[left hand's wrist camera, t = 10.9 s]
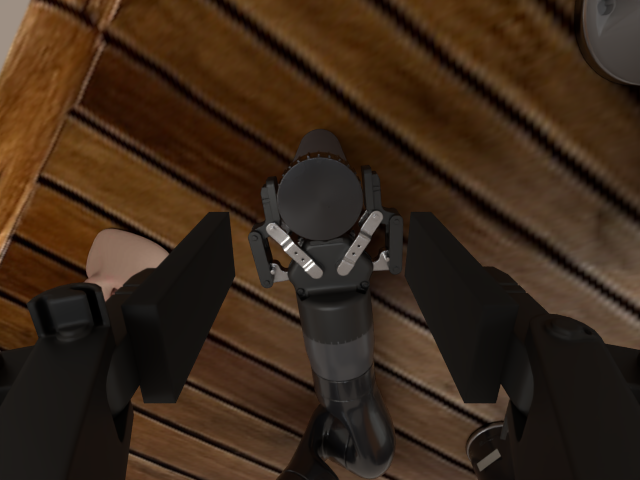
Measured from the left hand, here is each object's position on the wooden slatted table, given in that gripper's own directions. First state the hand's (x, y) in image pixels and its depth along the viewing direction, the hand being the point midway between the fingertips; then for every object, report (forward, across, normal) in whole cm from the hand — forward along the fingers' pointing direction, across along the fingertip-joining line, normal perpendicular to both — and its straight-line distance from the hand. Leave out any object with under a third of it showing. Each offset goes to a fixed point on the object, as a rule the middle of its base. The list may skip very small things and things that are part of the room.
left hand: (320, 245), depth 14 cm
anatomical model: (+26, +22, +15) cm, 37 cm away
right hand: (+19, 0, +1) cm, 19 cm away
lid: (+7, 0, 0) cm, 7 cm away
